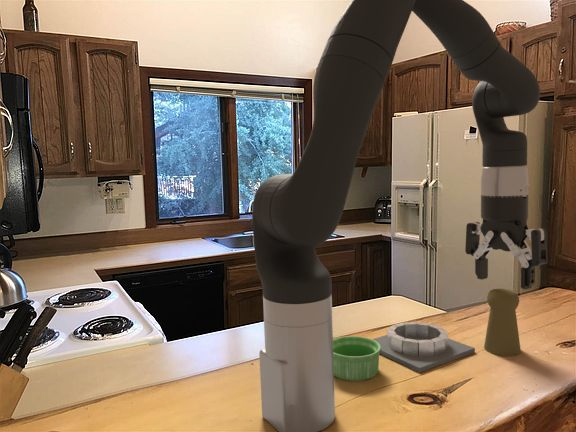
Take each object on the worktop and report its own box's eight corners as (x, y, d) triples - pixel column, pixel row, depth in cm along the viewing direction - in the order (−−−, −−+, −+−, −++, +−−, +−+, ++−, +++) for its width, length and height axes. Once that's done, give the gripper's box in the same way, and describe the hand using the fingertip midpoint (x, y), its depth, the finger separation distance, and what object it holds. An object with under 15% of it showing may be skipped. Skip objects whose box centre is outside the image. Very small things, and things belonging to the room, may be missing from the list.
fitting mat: (419, 372, 76) (419, 368, 76) (363, 346, 88) (362, 341, 88) (474, 352, 83) (474, 347, 83) (415, 330, 95) (415, 326, 95)
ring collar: (418, 361, 78) (418, 347, 78) (376, 342, 87) (376, 329, 87) (459, 347, 84) (459, 333, 83) (416, 330, 92) (415, 318, 92)
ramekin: (326, 383, 74) (325, 356, 73) (327, 359, 83) (326, 335, 82) (383, 384, 73) (383, 357, 72) (378, 360, 82) (378, 335, 81)
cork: (513, 343, 87) (514, 285, 85) (526, 356, 81) (527, 294, 79) (479, 342, 87) (480, 285, 86) (490, 356, 81) (491, 294, 80)
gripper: (455, 192, 85) (456, 279, 87) (531, 195, 73) (529, 296, 75) (482, 190, 89) (481, 273, 91) (557, 192, 77) (555, 287, 79)
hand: (503, 283), depth 83 cm, fingers open, 8 cm apart
